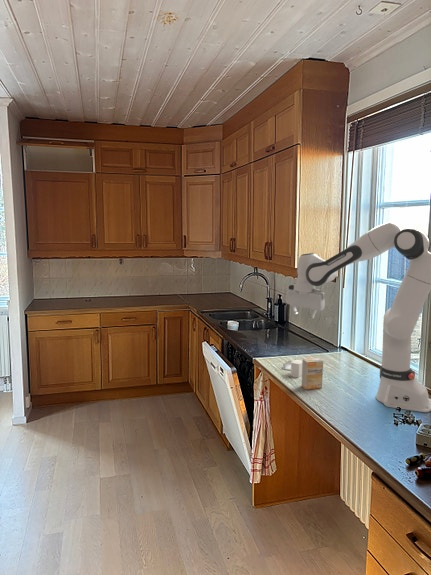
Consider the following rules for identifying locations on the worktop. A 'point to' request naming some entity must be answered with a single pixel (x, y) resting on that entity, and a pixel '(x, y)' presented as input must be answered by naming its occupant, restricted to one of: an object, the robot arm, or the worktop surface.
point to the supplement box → (312, 373)
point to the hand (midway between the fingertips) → (303, 316)
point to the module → (296, 368)
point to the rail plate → (287, 366)
